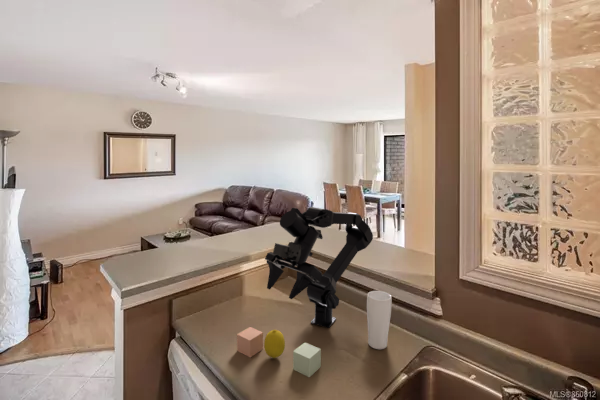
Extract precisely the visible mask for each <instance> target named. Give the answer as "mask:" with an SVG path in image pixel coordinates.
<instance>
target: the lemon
mask: <svg viewBox="0 0 600 400" xmlns="http://www.w3.org/2000/svg"><path fill="white" fill-rule="evenodd" d="M285 347H286V341H285V337H284V334H283V333H282V332H281V331H280V330H278V329H272V330H269V332H268V333H267V334H266V335H265V337H264V340H263V349H264V351H265V354H266V355H267V356H268V357H270V358H272V359H277V358H279V357H280V356H281V355H283V353H284V351H285Z"/></svg>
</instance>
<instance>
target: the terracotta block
mask: <svg viewBox="0 0 600 400" xmlns="http://www.w3.org/2000/svg"><path fill="white" fill-rule="evenodd" d="M236 342H237V343H236V345H237V346H236V348H237V349H236V351H237V352H239V353H241V354H243V355H244V356H247V358H251V357H253V356H255V355H256V354H258V353H260V351H262V350H264V333H263V331H261V330H259V329H256V328H254V327H251V326H249V327H247V328H246V329H244V330H242V331H240V332H238V333H237V334H236Z"/></svg>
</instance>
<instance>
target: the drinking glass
mask: <svg viewBox="0 0 600 400" xmlns="http://www.w3.org/2000/svg"><path fill="white" fill-rule="evenodd" d="M366 296H367V297H366V316H367V317H366V318H367V321H366V322H367V338H368V339H367V343H368V345H369V346H370V347H371V348H373V349H375V350H384V349H386V348H387V346H388V338H389V330H390V324H391V323H390V321H391V316H392V305H393V304H392V303H393V302H392V301H393V300H392V295H391V294H390V293H389V292H386V291H384V290H372V291H369V292H367V295H366Z"/></svg>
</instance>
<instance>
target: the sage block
mask: <svg viewBox="0 0 600 400" xmlns="http://www.w3.org/2000/svg"><path fill="white" fill-rule="evenodd" d="M321 350H322V349H321V348H320V347H316V346H314V345H312V344H310V343H308V342H304V343H302V344H301V345H299V346H298V347H297V348H295V349H294V350H293V351H292V355H293V356H292V358H293V359H292V364H293V365H292V368H293V369H292V370H293V371H296V372H298V373H300V374H301V375H303V376H306V377H307V378H310V377H311V376H313V375H314V374H315V372H317V371H318V370H319V369H320V368H321V363H322V362H321V361H322V360H321V357H322V351H321Z"/></svg>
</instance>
